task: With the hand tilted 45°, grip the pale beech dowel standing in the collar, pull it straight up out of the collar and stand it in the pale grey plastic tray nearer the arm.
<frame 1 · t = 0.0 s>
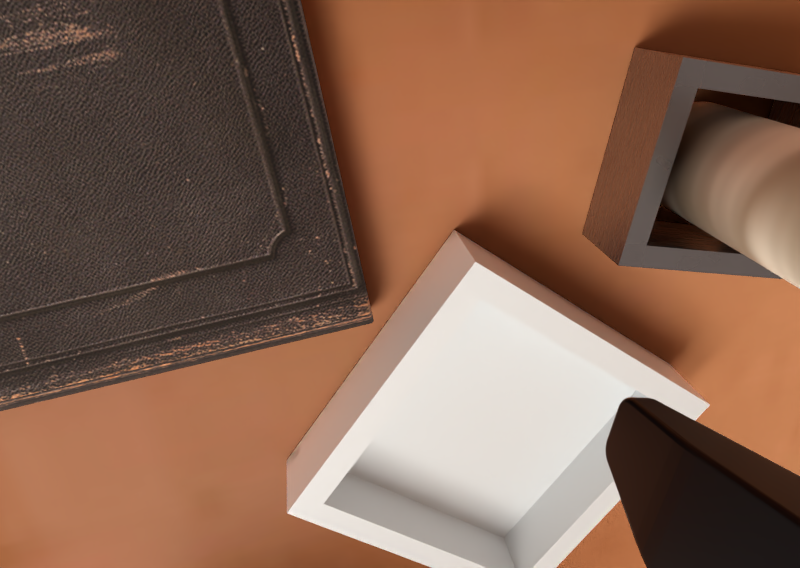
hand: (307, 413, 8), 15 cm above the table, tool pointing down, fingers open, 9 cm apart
collar: (690, 156, 24), on the table
tray: (481, 411, 28), on the table
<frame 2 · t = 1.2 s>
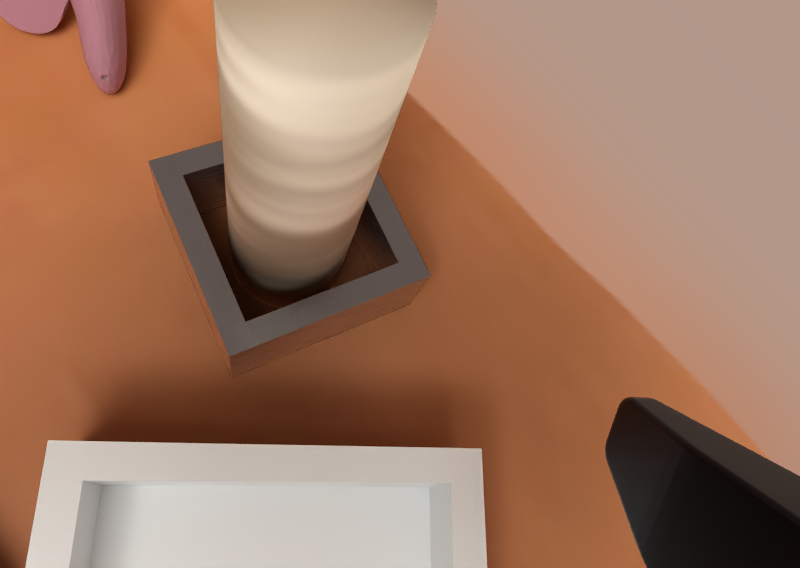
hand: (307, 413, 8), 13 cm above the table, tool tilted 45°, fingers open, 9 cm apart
collar: (286, 255, 23), on the table
dowel: (300, 164, 17), in the collar
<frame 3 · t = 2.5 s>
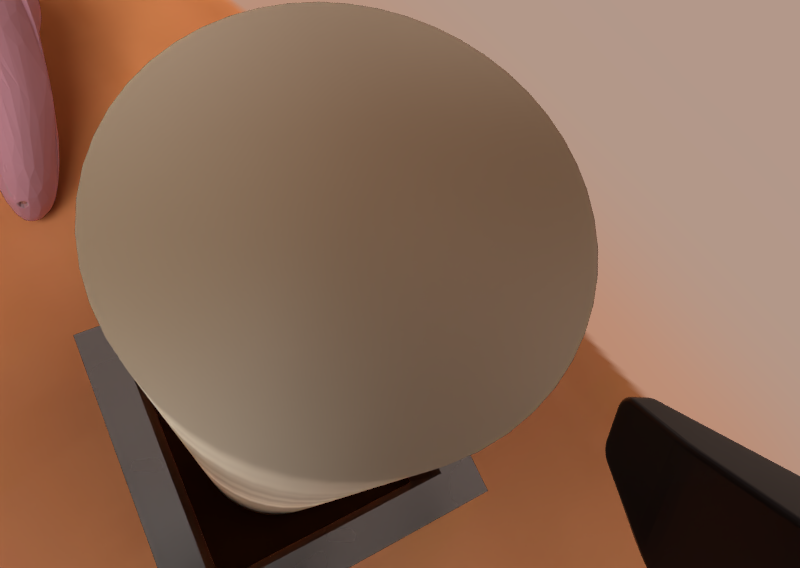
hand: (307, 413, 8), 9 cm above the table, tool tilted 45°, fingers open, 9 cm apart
collar: (279, 433, 17), on the table
dowel: (297, 382, 11), in the collar
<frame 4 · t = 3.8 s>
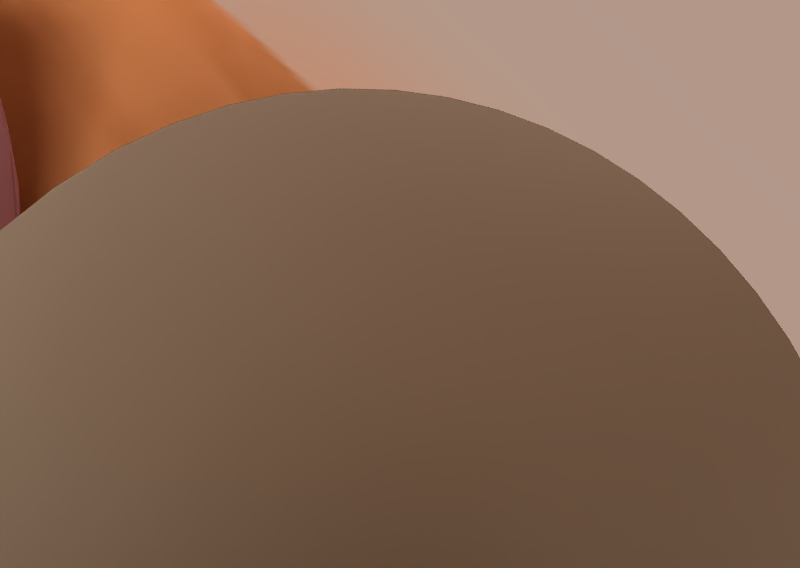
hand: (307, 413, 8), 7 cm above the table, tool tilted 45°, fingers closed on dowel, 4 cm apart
dowel: (299, 526, 8), in the collar, touching gripper
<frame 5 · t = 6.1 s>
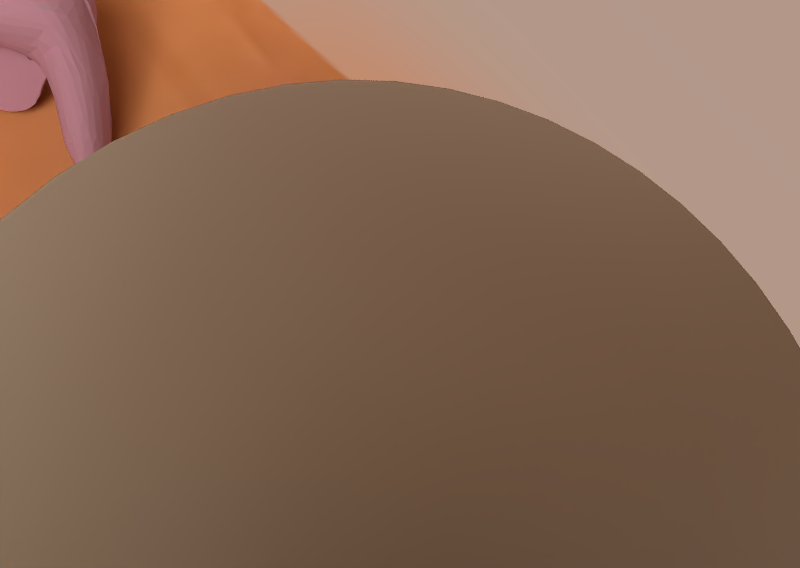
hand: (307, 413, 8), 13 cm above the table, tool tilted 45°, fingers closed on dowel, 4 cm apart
dowel: (299, 523, 8), point 13 cm above the table, touching gripper
when the fingers open (9 cm above the table, at t = 8.4 s): dowel drops 1 cm, resting on tray.
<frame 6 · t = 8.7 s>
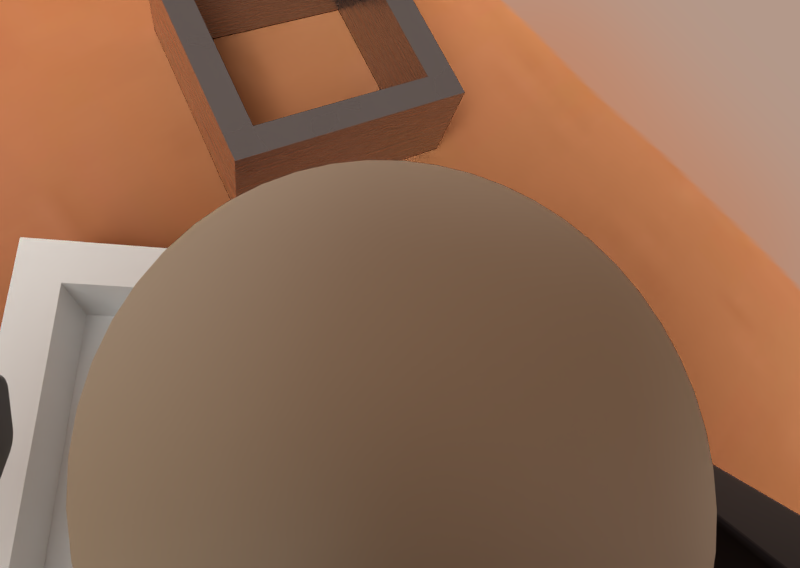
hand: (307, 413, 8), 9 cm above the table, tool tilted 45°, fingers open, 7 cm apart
collar: (298, 89, 21), on the table
dowel: (305, 509, 10), in the tray, point 7 cm above the table
tray: (274, 523, 16), on the table
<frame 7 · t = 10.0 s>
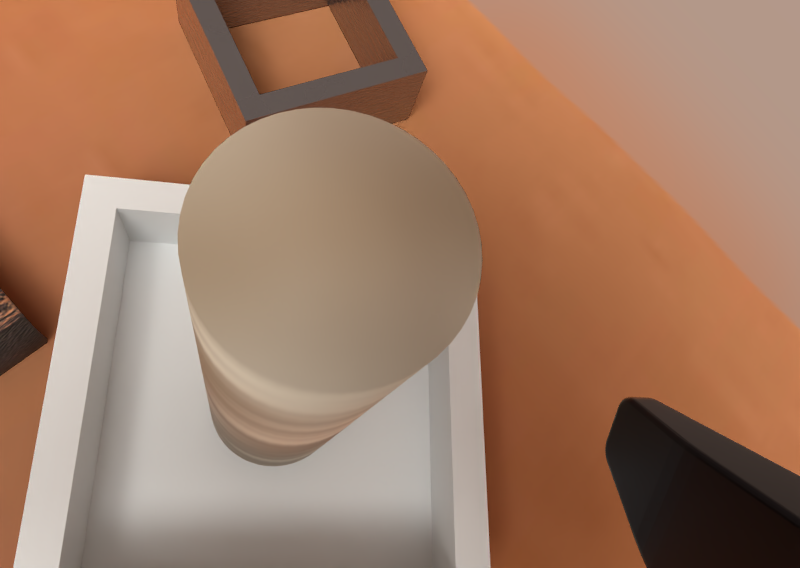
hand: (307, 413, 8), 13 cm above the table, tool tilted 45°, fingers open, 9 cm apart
collar: (295, 70, 25), on the table
dowel: (294, 353, 14), in the tray, point 7 cm above the table
tray: (275, 401, 21), on the table
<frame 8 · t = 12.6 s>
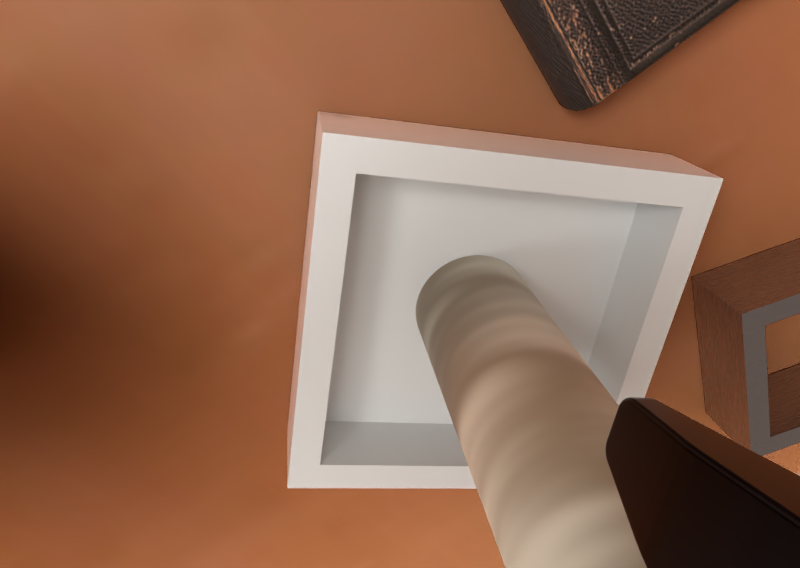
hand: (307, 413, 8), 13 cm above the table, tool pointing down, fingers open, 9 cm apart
collar: (778, 320, 26), on the table
dowel: (533, 422, 17), in the tray, point 7 cm above the table
tray: (468, 300, 23), on the table
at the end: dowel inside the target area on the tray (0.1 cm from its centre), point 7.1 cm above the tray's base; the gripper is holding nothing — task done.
